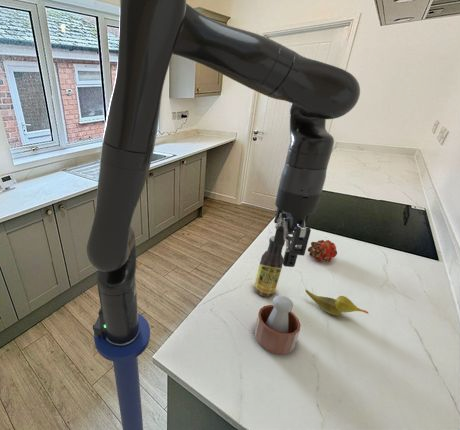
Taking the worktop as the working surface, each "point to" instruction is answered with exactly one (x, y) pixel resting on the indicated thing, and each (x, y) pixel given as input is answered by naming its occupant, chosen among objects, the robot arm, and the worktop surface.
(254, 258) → the worktop surface
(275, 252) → the sauce bottle
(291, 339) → the cup
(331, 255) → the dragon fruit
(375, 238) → the worktop surface
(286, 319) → the salt shaker
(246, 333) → the worktop surface
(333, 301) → the yellow-green tapered piece
